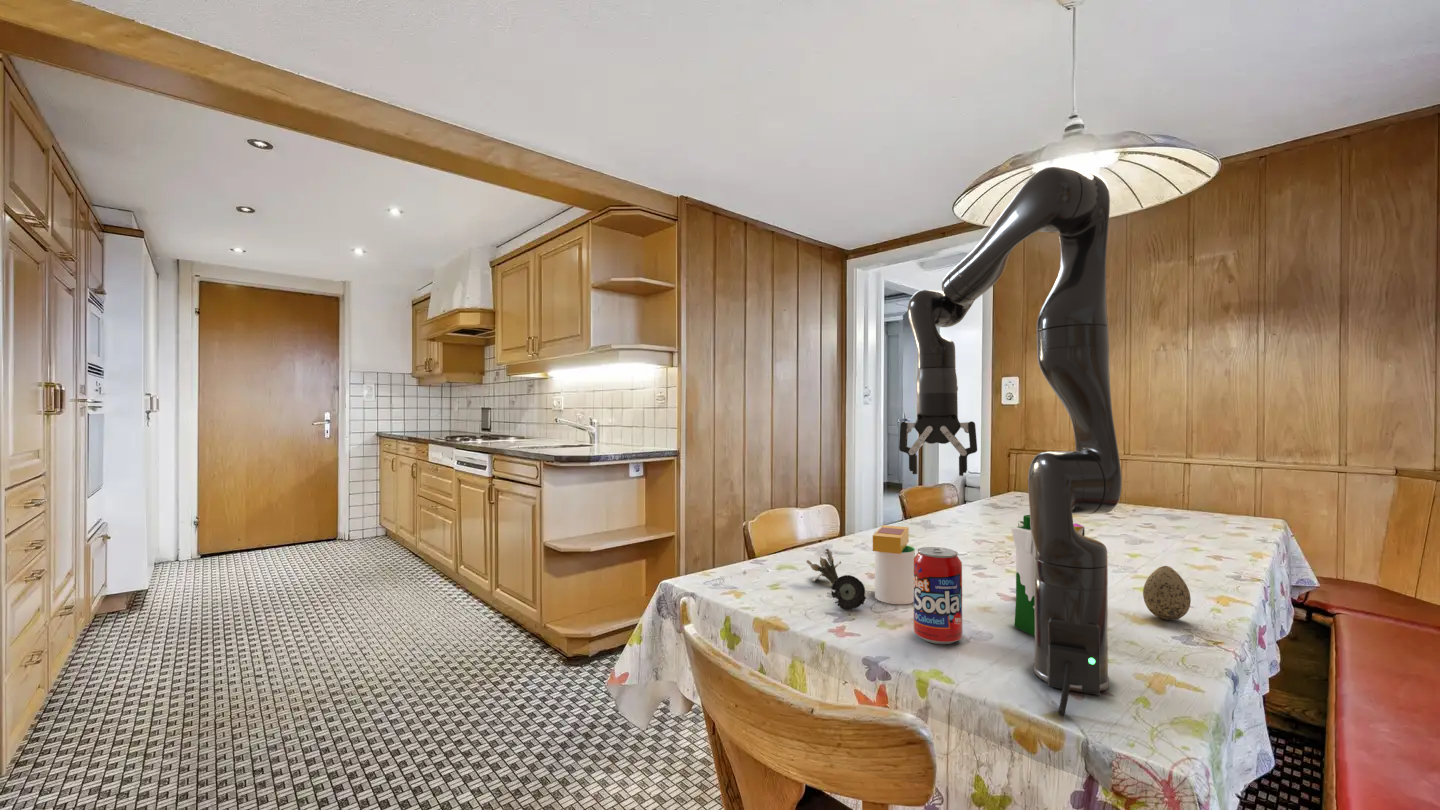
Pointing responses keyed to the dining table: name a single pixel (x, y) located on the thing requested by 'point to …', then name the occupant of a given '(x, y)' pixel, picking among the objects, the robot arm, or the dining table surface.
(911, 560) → the mug
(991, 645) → the dining table surface
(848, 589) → the dark long pronged piece
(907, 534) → the tea packet
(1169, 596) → the decorative egg
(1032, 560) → the milk carton
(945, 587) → the soda can
